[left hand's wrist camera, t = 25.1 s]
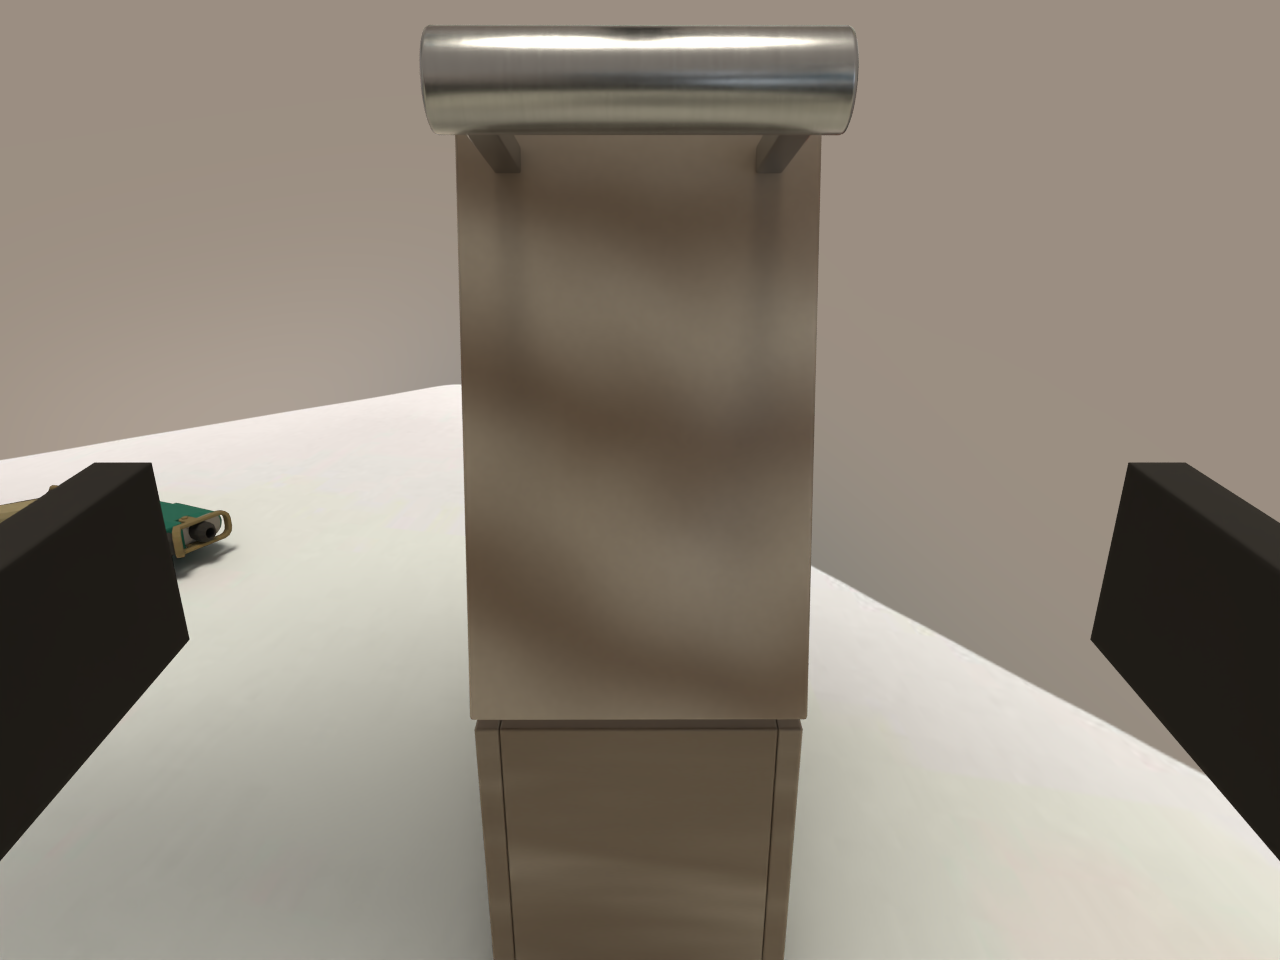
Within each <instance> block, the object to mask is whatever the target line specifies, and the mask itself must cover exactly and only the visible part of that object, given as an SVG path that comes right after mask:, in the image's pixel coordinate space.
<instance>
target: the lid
mask: <svg viewBox="0 0 1280 960" xmlns="http://www.w3.org/2000/svg"><path fill="white" fill-rule="evenodd" d="M419 61H420V81H421V90H422V98H423V104H424V109H425V113H426V117H427V120H428V123H429V125H430V127H431V129H432V131H433V132H434V133H435V134H438V135H455V147H456V187H457V225H458V264H459V303H460V342H461V381H462V419H463V458H464V497H465V536H466V574H467V613H468V652H469V691H470V717H471V719H472V720H627V719H806V717H807V700H808V659H809V619H810V578H811V538H812V497H813V456H814V416H815V375H816V335H817V294H818V254H819V213H820V172H821V135H841V134H843V133H844V132H845V131H846V129H847V127H848V125H849V122H850V120H851V117H852V113H853V109H854V104H855V98H856V91H857V81H858V44H857V38H856V34H855V31H854V29H853V28H852V27H850V26H848V25H429V26H427V27H425V28H424V30H423V33H422V37H421V43H420V59H419Z"/></svg>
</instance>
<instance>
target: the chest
mask: <svg viewBox="0 0 1280 960" xmlns="http://www.w3.org/2000/svg"><path fill="white" fill-rule="evenodd" d="M802 731H803V729H802V726H801V722H800V719H627V720H477V723H476V727H475V741H476V753H477V765H478V777H479V790H480V802H481V814H482V826H483V838H484V850H485V862H486V874H487V886H488V899H489V911H490V923H491V935H492V947H493V959H494V960H784V950H785V938H786V925H787V913H788V901H789V889H790V877H791V865H792V853H793V840H794V828H795V816H796V804H797V792H798V780H799V767H800V755H801V743H802Z"/></svg>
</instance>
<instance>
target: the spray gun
mask: <svg viewBox="0 0 1280 960" xmlns="http://www.w3.org/2000/svg"><path fill="white" fill-rule="evenodd" d="M56 487H57V485H52V486H50V488H49V491H48V492H50V491H51V490H53V489H54V488H56ZM48 492H47V493H48ZM37 499H39V498H37ZM37 499H32V500H26V501H21V502H15V503H10V504H4V505H0V523H1V522H3V521H4V520H6V519H7V518H9V517H11V516H12V515H14V514H15V513H17V512H18V511H20V510H21V509H23V508H25V507H26V506H28V505H29V504H31V503H32V502H34V501H35V500H37ZM160 504H161V509H162V514H163V518H164V523H165V528H166V532H167V537H168V542H169V546H170V551H171V555H174V554H175V555H176V557H177V558H181V557H185V554H187V553H189V552H192V551H194V550H197V549H199V548H202V547H204V546H207V545H209V544H212V543H214V542H217V541H219V540H222V539H224V538H226V537H227V536H229V535H230V533H231V531H232V523H231V518H230V515H229V513H227V512H226V511H222V510H219V511H211V510H206V509H202V508H197V507H193V506H189V505H184V504H180V503H174V504H171V503H166V502H161V501H160ZM220 515H222V516H223V518H224V524H225V530H224V532H223V533H222V534H220V535H218V536H215V535H216V533H217V532H218V531H219V529H220V527H221V523H222V519H221V517H220ZM200 541H201V542H200ZM186 546H187V547H188V548H186Z"/></svg>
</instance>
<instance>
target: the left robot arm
mask: <svg viewBox="0 0 1280 960" xmlns="http://www.w3.org/2000/svg"><path fill="white" fill-rule="evenodd" d="M189 640H190V639H189V635H188V630H187V625H186V621H185V616H184V611H183V607H182V602H181V597H180V593H179V588H178V584H177V579H176V574H175V570H174V565H173V560H172V556H171V551H170V546H169V542H168V537H167V532H166V528H165V523H164V518H163V514H162V509H161V504H160V500H159V495H158V491H157V486H156V481H155V477H154V472H153V467H152V463H93V464H92V465H90V466H88V467H87V468H85V469H84V470H82V471H81V472H79V473H78V474H76V475H74V476H73V477H71V478H70V479H68V480H67V481H65V482H64V483H62V484H60V485H59V486H57V487H56V488H54V489H53V490H51V491H50V492H48V493H46V494H45V495H43V496H42V497H40V498H39V499H37V500H35V501H34V502H32V503H31V504H29V505H28V506H26V507H25V508H23V509H21V510H20V511H18V512H17V513H15V514H14V515H12V516H11V517H9V518H7V519H6V520H4V521H3V522H1V523H0V861H1V859H2V858H3V857H4V856H5V855H6V854H7V852H8V851H9V850H10V849H11V848H12V847H13V845H14V844H15V843H16V842H17V841H18V840H19V838H20V837H21V836H22V835H23V834H24V833H25V831H26V830H27V829H28V828H29V827H30V825H31V824H32V823H33V822H34V821H35V820H36V818H37V817H38V816H39V815H40V814H41V813H42V811H43V810H44V809H45V808H46V807H47V806H48V804H49V803H50V802H51V801H52V800H53V799H54V797H55V796H56V795H57V794H58V793H59V792H60V790H61V789H62V788H63V787H64V786H65V785H66V783H67V782H68V781H69V780H70V779H71V778H72V776H73V775H74V774H75V773H76V772H77V771H78V769H79V768H80V767H81V766H82V765H83V763H84V762H85V761H86V760H87V759H88V758H89V756H90V755H91V754H92V753H93V752H94V751H95V749H96V748H97V747H98V746H99V745H100V744H101V742H102V741H103V740H104V739H105V738H106V737H107V735H108V734H109V733H110V732H111V731H112V730H113V728H114V727H115V726H116V725H117V724H118V723H119V721H120V720H121V719H122V718H123V717H124V716H125V714H126V713H127V712H128V711H129V710H130V709H131V707H132V706H133V705H134V704H135V703H136V702H137V700H138V699H139V698H140V697H141V696H142V694H143V693H144V692H145V691H146V690H147V689H148V687H149V686H150V685H151V684H152V683H153V682H154V680H155V679H156V678H157V677H158V676H159V675H160V673H161V672H162V671H163V670H164V669H165V668H166V666H167V665H168V664H169V663H170V662H171V661H172V659H173V658H174V657H175V656H176V655H177V654H178V652H179V651H180V650H181V649H182V648H183V647H184V645H185V644H186V643H187V642H188V641H189ZM1091 641H1092V642H1093V643H1094V644H1095V645H1096V647H1097V648H1098V649H1099V650H1100V651H1101V652H1102V653H1103V655H1104V656H1105V657H1106V658H1107V659H1108V661H1109V662H1110V663H1111V664H1112V665H1113V666H1114V668H1115V669H1116V670H1117V671H1118V672H1119V673H1120V675H1121V676H1122V677H1123V678H1124V679H1125V680H1126V682H1127V683H1128V684H1129V685H1130V686H1131V687H1132V689H1133V690H1134V691H1135V692H1136V693H1137V694H1138V696H1139V697H1140V698H1141V699H1142V700H1143V701H1144V703H1145V704H1146V705H1147V706H1148V707H1149V709H1150V710H1151V711H1152V712H1153V713H1154V714H1155V716H1156V717H1157V718H1158V719H1159V720H1160V721H1161V723H1162V724H1163V725H1164V726H1165V727H1166V728H1167V730H1168V731H1169V732H1170V733H1171V734H1172V735H1173V737H1174V738H1175V739H1176V740H1177V741H1178V742H1179V744H1180V745H1181V746H1182V747H1183V748H1184V749H1185V751H1186V752H1187V753H1188V754H1189V755H1190V756H1191V758H1192V759H1193V760H1194V761H1195V762H1196V763H1197V765H1198V766H1199V767H1200V768H1201V769H1202V771H1203V772H1204V773H1205V774H1206V775H1207V776H1208V778H1209V779H1210V780H1211V781H1212V782H1213V783H1214V785H1215V786H1216V787H1217V788H1218V789H1219V790H1220V792H1221V793H1222V794H1223V795H1224V796H1225V797H1226V799H1227V800H1228V801H1229V802H1230V803H1231V804H1232V806H1233V807H1234V808H1235V809H1236V810H1237V811H1238V813H1239V814H1240V815H1241V816H1242V817H1243V818H1244V820H1245V821H1246V822H1247V823H1248V824H1249V825H1250V827H1251V828H1252V829H1253V830H1254V831H1255V833H1256V834H1257V835H1258V836H1259V837H1260V838H1261V840H1262V841H1263V842H1264V843H1265V844H1266V845H1267V847H1268V848H1269V849H1270V850H1271V851H1272V852H1273V854H1274V855H1275V856H1276V857H1277V858H1278V859H1279V861H1280V523H1279V522H1277V521H1276V520H1274V519H1272V518H1271V517H1269V516H1268V515H1266V514H1265V513H1263V512H1262V511H1260V510H1259V509H1257V508H1255V507H1254V506H1252V505H1251V504H1249V503H1248V502H1246V501H1244V500H1243V499H1241V498H1240V497H1238V496H1237V495H1235V494H1234V493H1232V492H1230V491H1229V490H1227V489H1226V488H1224V487H1223V486H1221V485H1220V484H1218V483H1216V482H1215V481H1213V480H1212V479H1210V478H1209V477H1207V476H1206V475H1204V474H1202V473H1201V472H1199V471H1198V470H1196V469H1195V468H1193V467H1192V466H1190V465H1188V464H1187V463H1128V467H1127V472H1126V477H1125V481H1124V486H1123V491H1122V495H1121V500H1120V505H1119V509H1118V514H1117V518H1116V523H1115V528H1114V532H1113V537H1112V542H1111V546H1110V551H1109V556H1108V560H1107V565H1106V570H1105V574H1104V579H1103V584H1102V588H1101V593H1100V597H1099V602H1098V607H1097V611H1096V616H1095V621H1094V625H1093V630H1092V635H1091Z"/></svg>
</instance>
